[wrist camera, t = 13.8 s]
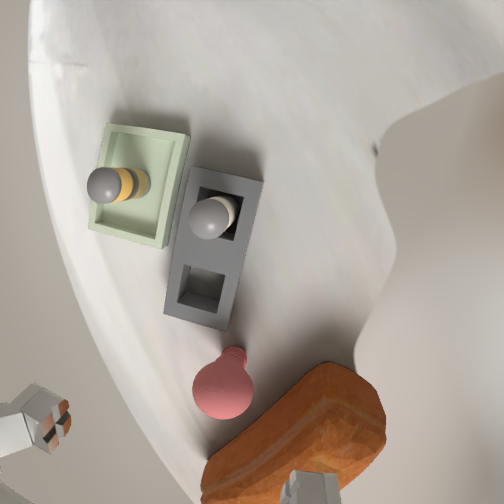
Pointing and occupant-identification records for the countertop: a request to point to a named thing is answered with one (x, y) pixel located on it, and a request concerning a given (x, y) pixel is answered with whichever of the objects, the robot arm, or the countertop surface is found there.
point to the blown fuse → (117, 184)
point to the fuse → (212, 216)
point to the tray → (162, 183)
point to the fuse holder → (210, 250)
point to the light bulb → (224, 385)
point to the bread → (300, 439)
